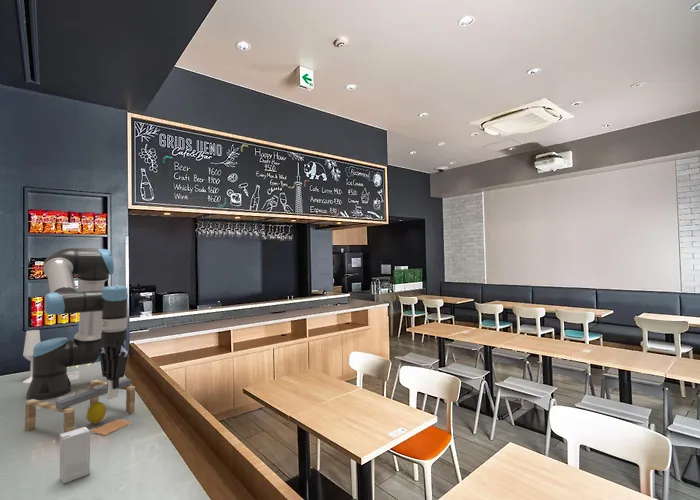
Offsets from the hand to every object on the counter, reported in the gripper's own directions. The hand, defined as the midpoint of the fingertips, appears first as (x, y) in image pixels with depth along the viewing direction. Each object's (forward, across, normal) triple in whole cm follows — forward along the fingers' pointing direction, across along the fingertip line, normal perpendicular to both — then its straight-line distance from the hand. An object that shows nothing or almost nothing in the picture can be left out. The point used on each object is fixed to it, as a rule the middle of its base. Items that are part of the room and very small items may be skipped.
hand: (112, 397), depth 128 cm
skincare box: (+11, +18, -24) cm, 32 cm away
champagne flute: (+10, -83, +21) cm, 86 cm away
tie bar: (0, -8, 0) cm, 8 cm away
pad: (+11, 0, 0) cm, 11 cm away
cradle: (+10, -15, 0) cm, 18 cm away
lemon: (+11, -8, 0) cm, 13 cm away
